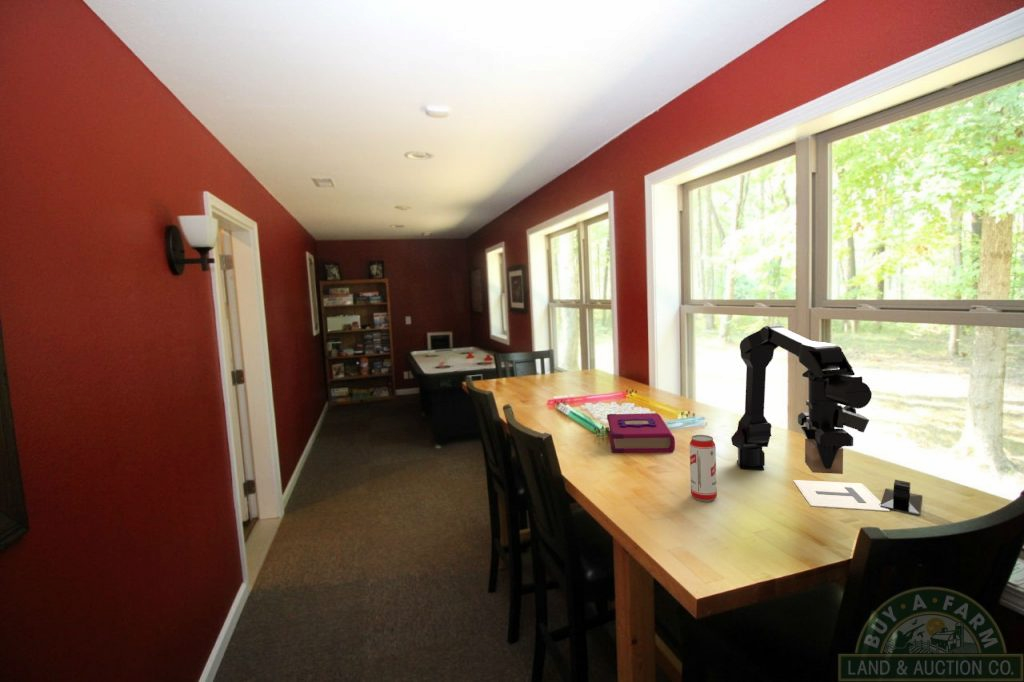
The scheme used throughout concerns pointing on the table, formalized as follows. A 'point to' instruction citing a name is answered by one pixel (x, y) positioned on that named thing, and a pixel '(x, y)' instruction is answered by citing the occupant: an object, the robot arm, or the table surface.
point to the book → (639, 434)
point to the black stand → (901, 498)
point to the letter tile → (838, 495)
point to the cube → (816, 463)
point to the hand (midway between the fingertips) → (823, 463)
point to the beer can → (703, 468)
